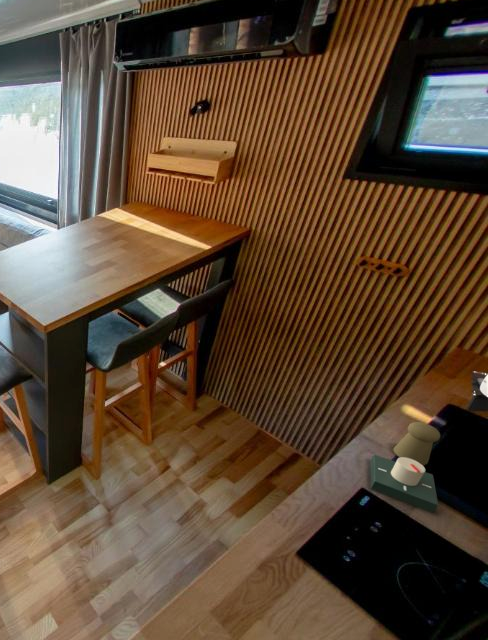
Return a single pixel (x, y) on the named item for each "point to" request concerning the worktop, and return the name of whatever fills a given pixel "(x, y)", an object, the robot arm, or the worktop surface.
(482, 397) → the robot arm
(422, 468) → the grip knob
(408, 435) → the cork
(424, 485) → the panel
